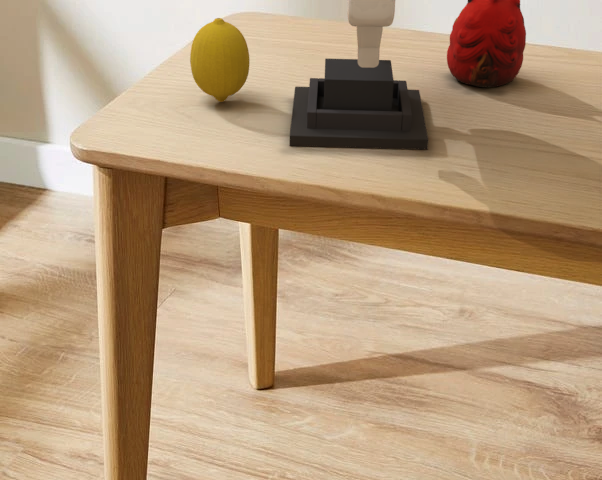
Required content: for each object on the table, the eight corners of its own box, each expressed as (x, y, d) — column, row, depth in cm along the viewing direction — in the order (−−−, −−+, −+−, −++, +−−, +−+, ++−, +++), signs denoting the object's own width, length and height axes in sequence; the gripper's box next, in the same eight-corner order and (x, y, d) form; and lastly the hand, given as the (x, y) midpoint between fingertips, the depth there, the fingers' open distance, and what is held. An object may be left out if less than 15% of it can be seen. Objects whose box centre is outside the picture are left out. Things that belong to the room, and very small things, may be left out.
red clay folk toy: (517, 70, 102) (538, -81, 94) (523, 94, 96) (546, -65, 88) (444, 66, 103) (458, -84, 95) (445, 90, 97) (461, -68, 89)
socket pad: (418, 99, 95) (420, 74, 93) (427, 150, 85) (430, 122, 83) (295, 96, 95) (295, 71, 94) (289, 146, 85) (289, 119, 84)
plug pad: (388, 101, 91) (390, 59, 89) (390, 124, 87) (393, 81, 85) (324, 99, 92) (325, 58, 89) (323, 122, 87) (324, 79, 85)
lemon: (224, 87, 97) (221, 6, 92) (262, 102, 93) (261, 19, 89) (180, 100, 94) (175, 17, 89) (217, 117, 90) (214, 31, 86)
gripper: (419, -96, 70) (408, 89, 78) (405, -142, 87) (398, 13, 95) (331, -96, 70) (329, 88, 78) (335, -142, 87) (333, 12, 95)
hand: (367, 46), depth 86 cm, fingers open, 8 cm apart
